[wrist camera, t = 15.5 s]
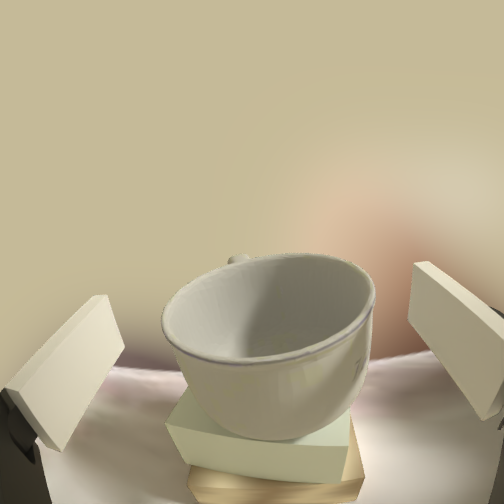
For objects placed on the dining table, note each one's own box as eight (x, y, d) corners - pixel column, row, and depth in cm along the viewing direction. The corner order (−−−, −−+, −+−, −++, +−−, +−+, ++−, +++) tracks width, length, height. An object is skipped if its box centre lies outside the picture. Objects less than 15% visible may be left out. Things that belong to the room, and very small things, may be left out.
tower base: (336, 405, 27) (338, 370, 26) (355, 502, 16) (365, 476, 14) (221, 413, 28) (212, 380, 27) (203, 509, 17) (186, 485, 15)
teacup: (389, 440, 12) (419, 317, 10) (186, 473, 12) (130, 361, 10) (325, 320, 26) (322, 232, 23) (203, 338, 25) (184, 251, 23)
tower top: (346, 379, 24) (349, 335, 23) (340, 483, 14) (348, 445, 13) (230, 374, 27) (221, 332, 26) (185, 463, 17) (164, 423, 16)
